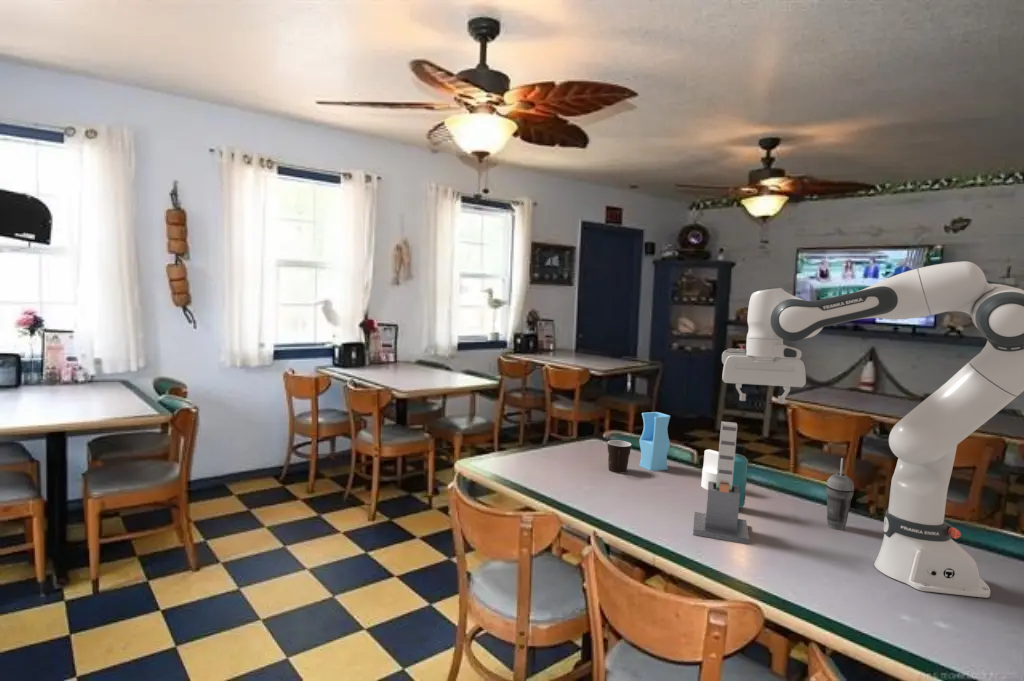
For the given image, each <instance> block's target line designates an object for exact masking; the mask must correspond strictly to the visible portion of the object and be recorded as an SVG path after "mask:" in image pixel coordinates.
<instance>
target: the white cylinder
mask: <svg viewBox="0 0 1024 681" xmlns="http://www.w3.org/2000/svg"><path fill="white" fill-rule="evenodd" d="M703 453H704V455H703V466H702V471H701V482H700V487H702V489H704V490H706V491H708V481H710V482H716V479H717V467H718V455H719V451H717V450H713V449H710V448H709V449H705V450H704V452H703Z"/></svg>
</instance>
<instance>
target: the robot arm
mask: <svg viewBox="0 0 1024 681" xmlns="http://www.w3.org/2000/svg"><path fill="white" fill-rule="evenodd" d="M985 275H986V274H985V273H984V271H983V270H982V269H981V268H980V267H979V265H977V264H975V263H974V262H972V261H964V260H963V261H962V260H961V261H954V262H952V261H951V262H944V263H939V264H938V263H937V264H932V265H926V266H922V267H919V268H915V269H914V268H913V269H911V270H907V271H903V272H901V273H898V274H896V275H893V276H891V277H888V278H886V279H883V280H881V281H879V282H877V283H874V284H872V285H870V286H868V287H865V288H864V289H860V290H857V291H854V292H850V293H846V294H841V295H837V296H833V297H827V298H823V299H818V300H805V299H803V298H799V297H798V296H795V295H792V294H791V293H789V292H787V291H785V290H784V289H783V288H782V287H777V286H776V287H775V286H774V287H773V286H772V287H765V288H761V289H756V290H755V291H754V292H752V293H751V295H750V298H749V302H748V310H747V317H746V318H747V320H746V321H747V326H748V329H747V330H748V332H747V334H746V340H745V341H746V343H745V345H746V346H745V348H732V347H731V348H730V347H729V348H727V349H726V350H724V351H723V352H722V354H721V363H722V364H723V367H722V368H723V369H722V378H721V379H722V381H723V382H724V383H725V384H735V388H736V391H737V392H738V394H739V401H741V402H746V401H747V395H746V393H743V392H742V390H741V389H742V385H758V386H770V387H771V386H773V387H782V388H783V391H784V392H783V393H782V395H777V398H778V400H777V403H778V404H781V405H783V404H786V397H787V396H788V395H789V393H790V391H791V388H792V387H793V388H803V387H804V386H805V385H806V383H807V374H806V366H805V364H804V361H803V360H801V358H802V353H803V352H802V351H801V349H798V348H795V347H794V346H793V347H792V346H790V345H789V344H788V345H787V344H784V340H785V341H788V342H797V341H801V340H803V339H804V340H805V339H810V338H812V337H815V336H816V335H818V334H819V333H821V331H822V330H823V329H824V328H825V327H829V326H832V325H833V326H834V325H838V324H844V323H847V322H853V321H857V320H862V319H863V320H864V319H865V320H866V319H883V320H884V319H886V320H887V319H888V320H908V319H917V318H918V319H919V318H925V317H930V316H934V315H939V314H943V313H947V312H960V313H961V312H962V313H965V314H968V315H969V316H970V318H971V321H972V323H973V324H974V326H975V328H977V330H978V331H979V332H980V333H981V334H982V336H983V337H984V338H985V339H986V344H985V346H984V347H983V348H982V350H980V352H979V353H977V354H976V356H974V357H973V358H971V360H970V361H968V362H967V363H966V364H965V365H964V366H962V367H961V369H959V370H958V371H957V372H956V373H955V374H954V375H953V376H952V377H950V378H949V379H948V380H947V381H946V382H945V383H944V384H942V385H941V386H940V387H939V388H938V389H936V390H935V391H934V392H933V393H932V394H930V395H929V396H927V397H926V398H925V399H924V400H922V402H920V403H919V404H918V405H916V406H915V407H914V408H913V409H912V410H910V411H909V412H908V413H907V414H906V415H905V416H903V417H902V418H901V419H900V420H898V422H897V423H895V424H894V425H893V427H892V428H891V430H890V433H889V436H888V446H889V448H890V450H891V452H892V454H894V456H895V457H897V458H898V459H897V462H896V466H895V469H894V473H893V474H892V477H891V484H890V490H889V499H888V500H889V501H888V508H887V509H886V511H885V516H884V519H883V521H884V522H883V533H884V535H883V538H882V543H881V546H880V549H879V553H878V555H877V556H876V559H875V561H874V563H873V564H874V567H875V568H876V569H877V570H878V571H879V572H880V573H881V574H883V575H886V576H887V577H889V578H892V579H894V580H896V581H899V582H901V583H904V584H906V585H908V586H910V587H912V588H914V589H916V590H919V591H921V592H930V593H938V594H939V593H940V594H946V595H947V594H948V595H957V596H964V597H965V596H967V597H975V598H976V597H978V598H985V599H987V598H988V599H989V598H990V597H991V589H990V587H989V585H988V584H987V583H986V581H985V580H983V579H982V578H981V577H980V574H979V568H978V565H977V562H976V561H975V559H974V558H973V557H972V556H971V555H970V554H969V553H968V552H967V551H966V550H964V548H962V547H961V546H960V545H959V544H958V543H957V542H956V541H954V540H953V539H959V538H961V536H962V533H961V531H960V530H959V529H958V528H955V527H953V526H952V525H951V524H949V523H948V522H946V521H945V513H946V504H947V497H948V496H947V495H948V489H949V485H950V480H951V476H952V472H953V470H954V469H953V467H954V463H955V459H956V455H957V454H956V453H957V448H958V445H959V444H960V443H961V442H963V441H964V440H965V439H966V438H968V437H969V436H970V435H971V434H972V433H974V432H975V431H976V430H978V429H979V428H980V427H981V426H983V425H984V424H985V423H987V422H988V421H989V420H990V419H992V418H993V417H994V416H995V415H996V414H998V412H1000V411H1001V410H1003V409H1004V408H1005V407H1006V406H1007V405H1009V404H1010V403H1011V402H1012V401H1013V400H1014V399H1016V398H1017V397H1018V396H1020V395H1021V394H1022V393H1023V392H1024V290H1023V289H1021V288H1019V287H1017V286H1014V285H1012V284H1006V283H1002V282H995V281H990V280H987V278H986V276H985Z"/></svg>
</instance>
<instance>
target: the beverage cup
mask: <svg viewBox="0 0 1024 681" xmlns="http://www.w3.org/2000/svg"><path fill="white" fill-rule="evenodd" d="M843 466H844V457H841V458H840V470H839V473H834V474H832V475H831V476H829V478H828V479H827V480H826V484H825V487H826V488H825V490H826V496H827V497H826V500H827V501H826V522H827V527H828V528H831V529H834V530H838V531H843V530H846V525H847V522H848V518H849V511H850V506H851V502H852V498H853V496H854V492H855V488H854V487H855V486H854V485H855V484H854V481H853V480H852V479H851V477H849V476H848V475H846V474H844V473H843Z"/></svg>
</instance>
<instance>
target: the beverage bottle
mask: <svg viewBox="0 0 1024 681" xmlns="http://www.w3.org/2000/svg"><path fill="white" fill-rule="evenodd" d="M745 451H746V449H745V445H744V444H740V443H736V448H735V459H734V471H733V482H732V485H738V486H739V492H740V500H739V508H744V506H745V503H746V501H745V500H746V491H747V490H746V489H747V478H748V474H747V473H748V472H747V471H748V463H749V460H748V459H747V458H746V456H745V455H743V454H745Z"/></svg>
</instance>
